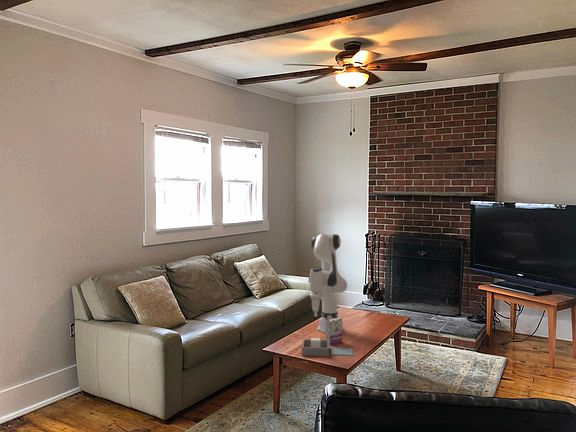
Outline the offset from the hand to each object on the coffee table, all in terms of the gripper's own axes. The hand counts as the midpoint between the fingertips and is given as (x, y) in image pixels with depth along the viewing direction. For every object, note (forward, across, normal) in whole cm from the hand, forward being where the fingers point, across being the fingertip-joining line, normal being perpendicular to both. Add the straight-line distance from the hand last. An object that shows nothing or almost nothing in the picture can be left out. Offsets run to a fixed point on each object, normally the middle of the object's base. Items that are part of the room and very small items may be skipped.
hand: (315, 314), depth 290 cm
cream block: (+24, 0, 0) cm, 24 cm away
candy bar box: (+24, -18, +12) cm, 32 cm away
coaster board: (+24, -1, +17) cm, 30 cm away
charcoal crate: (+24, 0, 0) cm, 24 cm away
